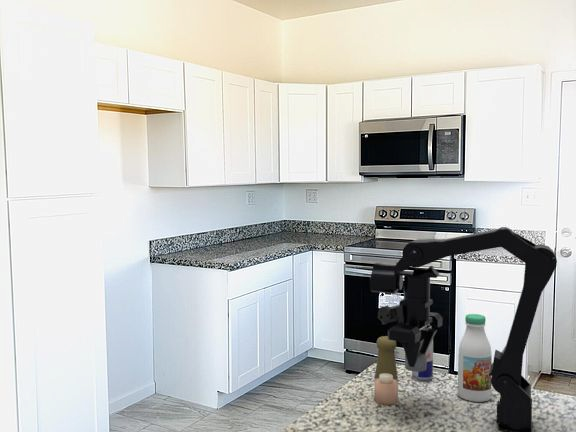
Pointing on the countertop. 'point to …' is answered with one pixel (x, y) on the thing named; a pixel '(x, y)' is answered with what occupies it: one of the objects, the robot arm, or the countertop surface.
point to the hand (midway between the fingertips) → (415, 363)
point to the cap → (418, 363)
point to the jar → (386, 389)
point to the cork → (386, 357)
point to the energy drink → (428, 373)
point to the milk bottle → (474, 361)
